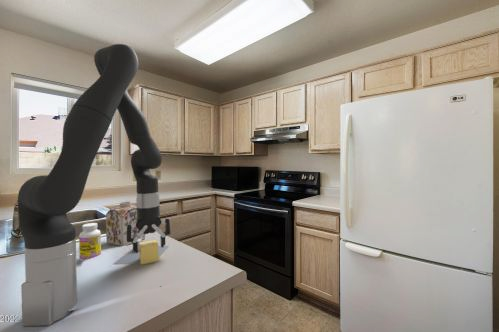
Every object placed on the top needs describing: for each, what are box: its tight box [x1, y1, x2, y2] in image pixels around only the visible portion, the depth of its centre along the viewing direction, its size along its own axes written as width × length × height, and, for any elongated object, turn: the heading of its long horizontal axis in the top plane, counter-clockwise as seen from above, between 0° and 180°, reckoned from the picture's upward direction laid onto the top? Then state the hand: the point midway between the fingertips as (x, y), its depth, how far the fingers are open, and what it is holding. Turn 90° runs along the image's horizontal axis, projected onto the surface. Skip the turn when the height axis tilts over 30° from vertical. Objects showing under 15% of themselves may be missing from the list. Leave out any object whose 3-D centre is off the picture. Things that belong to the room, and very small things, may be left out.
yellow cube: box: [139, 239, 159, 266], centre depth 81 cm, size 6×6×6 cm
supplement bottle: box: [78, 222, 102, 262], centre depth 85 cm, size 7×7×13 cm
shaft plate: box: [113, 239, 170, 265], centre depth 86 cm, size 16×14×5 cm
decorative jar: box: [105, 201, 146, 247], centre depth 103 cm, size 12×12×18 cm
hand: (149, 249), depth 81 cm, fingers open, 8 cm apart
